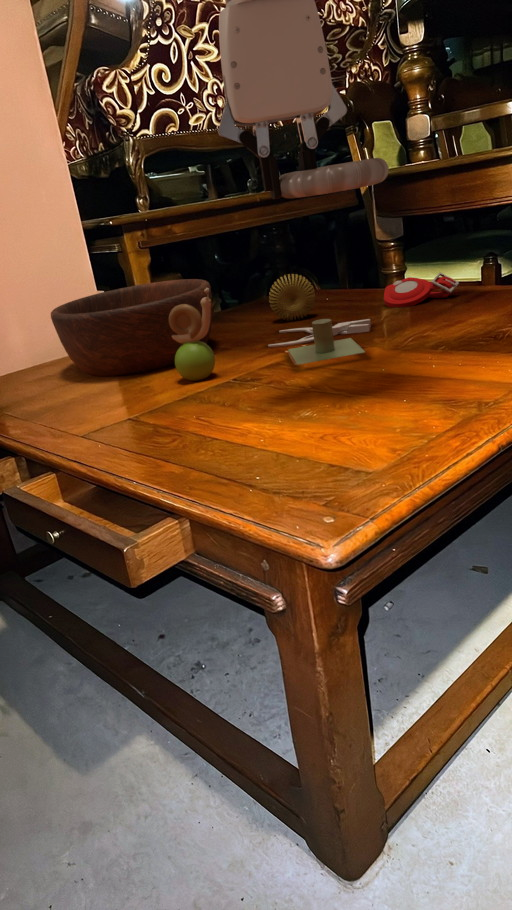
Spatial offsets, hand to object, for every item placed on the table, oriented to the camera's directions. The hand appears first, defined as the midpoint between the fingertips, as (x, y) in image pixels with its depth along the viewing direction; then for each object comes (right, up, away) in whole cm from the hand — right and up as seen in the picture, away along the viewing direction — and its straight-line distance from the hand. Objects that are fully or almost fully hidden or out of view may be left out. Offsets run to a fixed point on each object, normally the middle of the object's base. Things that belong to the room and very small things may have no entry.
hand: (292, 193), depth 71 cm
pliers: (+6, -9, +36) cm, 37 cm away
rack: (+6, -14, +22) cm, 27 cm away
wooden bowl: (-22, -12, +40) cm, 47 cm away
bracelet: (+4, +1, 0) cm, 4 cm away
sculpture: (+3, -4, +49) cm, 50 cm away
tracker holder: (+24, -1, +47) cm, 53 cm away
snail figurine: (-11, -17, +23) cm, 31 cm away
